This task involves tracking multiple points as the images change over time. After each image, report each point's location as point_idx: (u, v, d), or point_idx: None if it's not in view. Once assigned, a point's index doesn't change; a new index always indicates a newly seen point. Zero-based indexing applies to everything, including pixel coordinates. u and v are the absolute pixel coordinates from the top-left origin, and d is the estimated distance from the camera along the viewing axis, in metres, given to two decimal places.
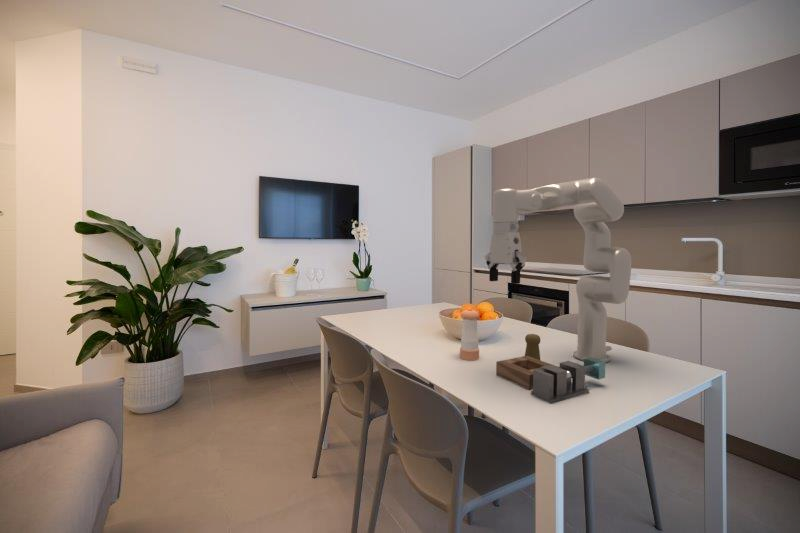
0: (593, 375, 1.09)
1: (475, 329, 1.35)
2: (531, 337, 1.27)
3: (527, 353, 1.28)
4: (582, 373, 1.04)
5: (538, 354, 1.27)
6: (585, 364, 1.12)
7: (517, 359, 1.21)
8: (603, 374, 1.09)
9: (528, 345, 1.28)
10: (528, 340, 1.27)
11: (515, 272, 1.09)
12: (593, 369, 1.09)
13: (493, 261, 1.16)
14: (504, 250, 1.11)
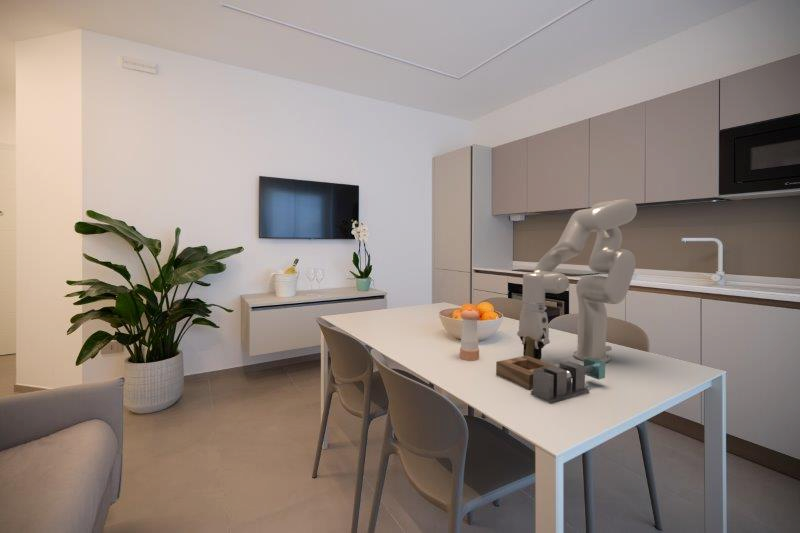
0: (593, 375, 1.09)
1: (475, 329, 1.35)
2: None
3: (527, 353, 1.28)
4: (582, 373, 1.04)
5: None
6: (585, 364, 1.12)
7: (517, 359, 1.21)
8: (603, 374, 1.09)
9: (528, 345, 1.28)
10: (528, 340, 1.27)
11: (537, 350, 1.26)
12: (593, 369, 1.09)
13: (522, 334, 1.30)
14: (533, 328, 1.25)
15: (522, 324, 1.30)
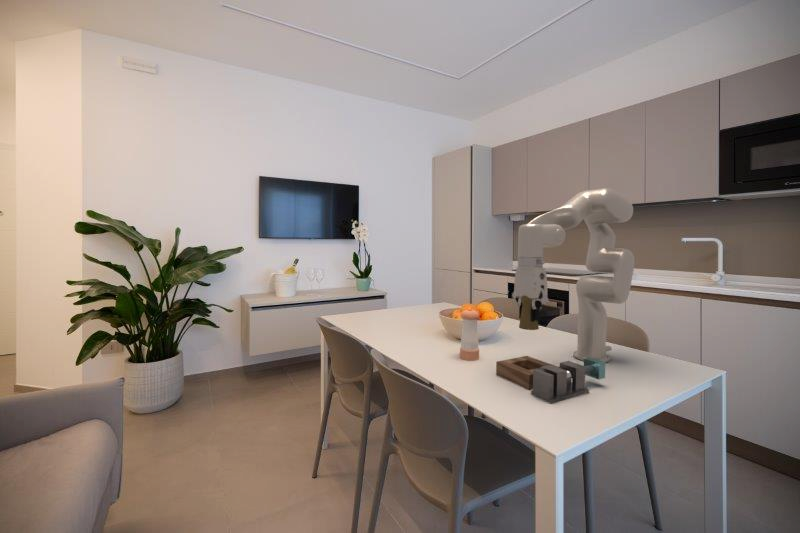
0: (593, 375, 1.09)
1: (475, 329, 1.35)
2: None
3: (523, 314, 1.14)
4: (582, 373, 1.04)
5: None
6: (585, 364, 1.12)
7: (517, 359, 1.21)
8: (603, 374, 1.09)
9: (524, 305, 1.14)
10: (524, 300, 1.13)
11: (534, 310, 1.12)
12: (593, 369, 1.09)
13: (518, 294, 1.16)
14: (530, 285, 1.11)
15: (518, 283, 1.16)
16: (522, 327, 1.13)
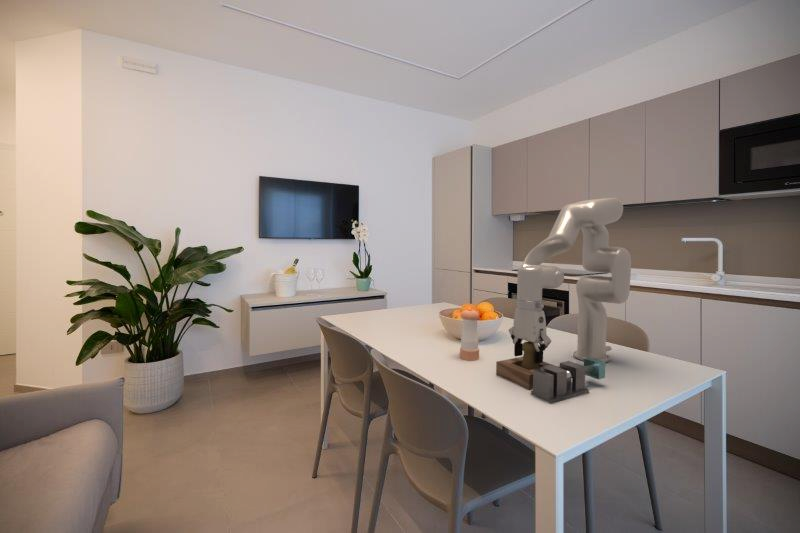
0: (593, 375, 1.09)
1: (475, 329, 1.35)
2: (529, 345, 1.13)
3: (524, 363, 1.14)
4: (582, 373, 1.04)
5: (537, 364, 1.13)
6: (585, 364, 1.12)
7: (517, 359, 1.21)
8: (603, 374, 1.09)
9: (525, 354, 1.14)
10: (526, 349, 1.13)
11: (538, 352, 1.11)
12: (593, 369, 1.09)
13: (517, 336, 1.17)
14: (529, 328, 1.12)
15: (517, 324, 1.16)
16: None
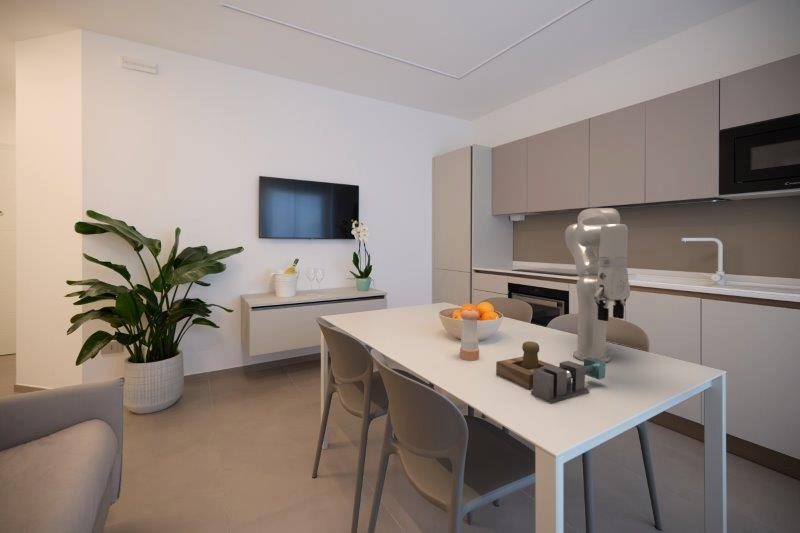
0: (593, 375, 1.09)
1: (475, 329, 1.35)
2: (529, 345, 1.13)
3: (524, 363, 1.14)
4: (582, 373, 1.04)
5: (537, 364, 1.13)
6: (585, 364, 1.12)
7: (517, 359, 1.21)
8: (603, 374, 1.09)
9: (525, 354, 1.14)
10: (526, 349, 1.13)
11: None
12: (593, 369, 1.09)
13: None
14: None
15: None
16: None
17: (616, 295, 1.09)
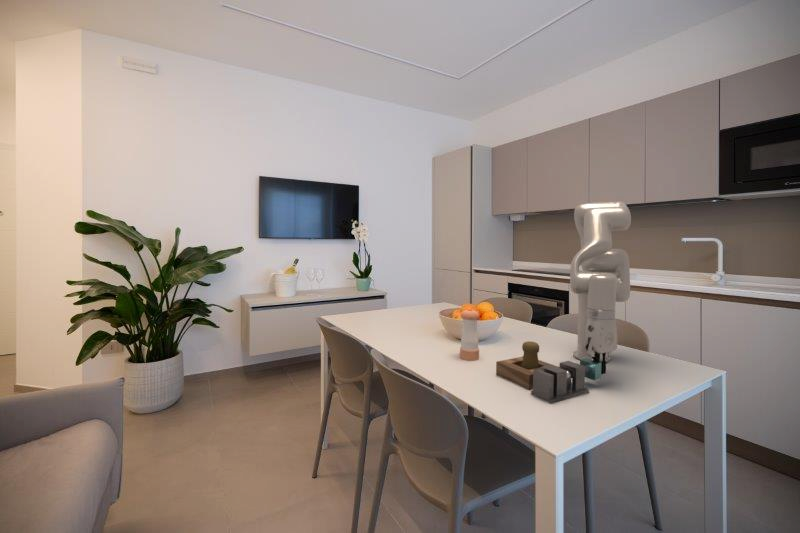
0: (589, 376, 1.08)
1: (475, 329, 1.35)
2: (529, 345, 1.13)
3: (524, 363, 1.14)
4: (582, 373, 1.04)
5: (537, 364, 1.13)
6: None
7: (517, 359, 1.21)
8: (599, 375, 1.08)
9: (525, 354, 1.14)
10: (526, 349, 1.13)
11: None
12: (589, 370, 1.08)
13: None
14: None
15: None
16: None
17: (604, 348, 1.08)
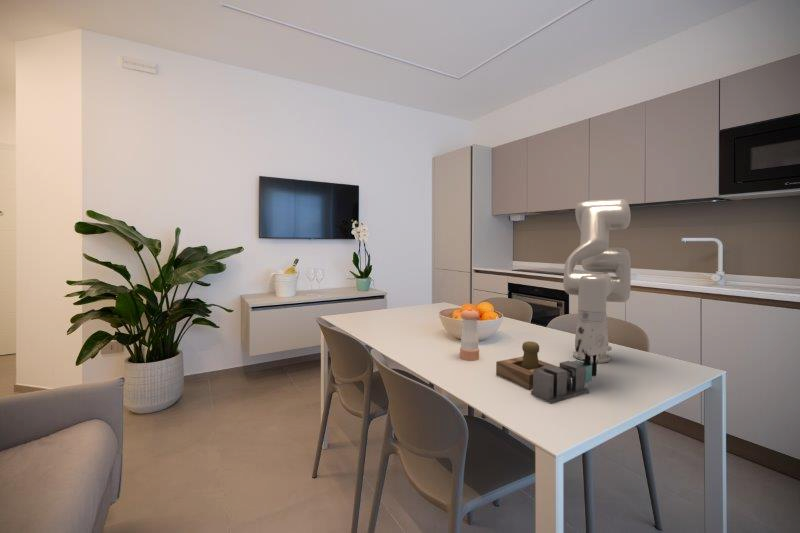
0: None
1: (475, 329, 1.35)
2: (529, 345, 1.13)
3: (524, 363, 1.14)
4: (582, 373, 1.04)
5: (537, 364, 1.13)
6: None
7: (517, 359, 1.21)
8: (589, 377, 1.06)
9: (525, 354, 1.14)
10: (526, 349, 1.13)
11: None
12: None
13: None
14: None
15: None
16: None
17: (595, 350, 1.06)
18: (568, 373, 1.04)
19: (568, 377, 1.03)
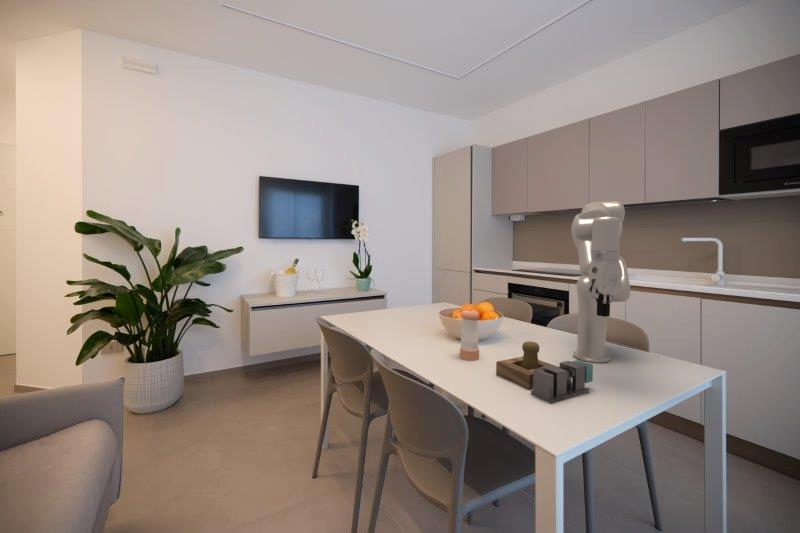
0: None
1: (475, 329, 1.35)
2: (529, 345, 1.13)
3: (524, 363, 1.14)
4: (582, 373, 1.04)
5: (537, 364, 1.13)
6: None
7: (517, 359, 1.21)
8: (590, 377, 1.06)
9: (525, 354, 1.14)
10: (526, 349, 1.13)
11: None
12: None
13: None
14: None
15: None
16: None
17: (608, 289, 1.07)
18: (569, 373, 1.04)
19: (569, 377, 1.04)
